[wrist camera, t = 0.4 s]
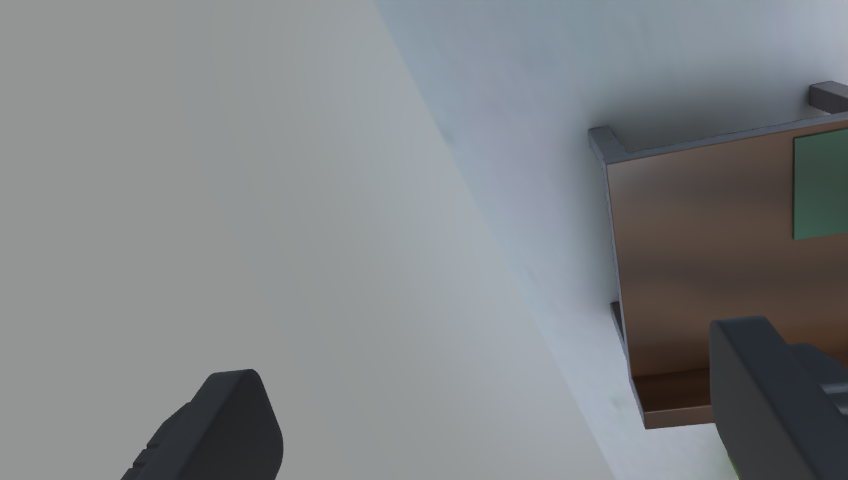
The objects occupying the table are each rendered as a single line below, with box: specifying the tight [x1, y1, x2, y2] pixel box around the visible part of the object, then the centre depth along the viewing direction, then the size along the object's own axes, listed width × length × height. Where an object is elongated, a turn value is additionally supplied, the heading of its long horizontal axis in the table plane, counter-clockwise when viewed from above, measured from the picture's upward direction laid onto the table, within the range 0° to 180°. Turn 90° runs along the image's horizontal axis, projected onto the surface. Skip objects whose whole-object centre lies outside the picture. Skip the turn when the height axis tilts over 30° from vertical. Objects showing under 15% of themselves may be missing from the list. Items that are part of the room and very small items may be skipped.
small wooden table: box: [588, 81, 848, 429], centre depth 32 cm, size 14×14×11 cm
